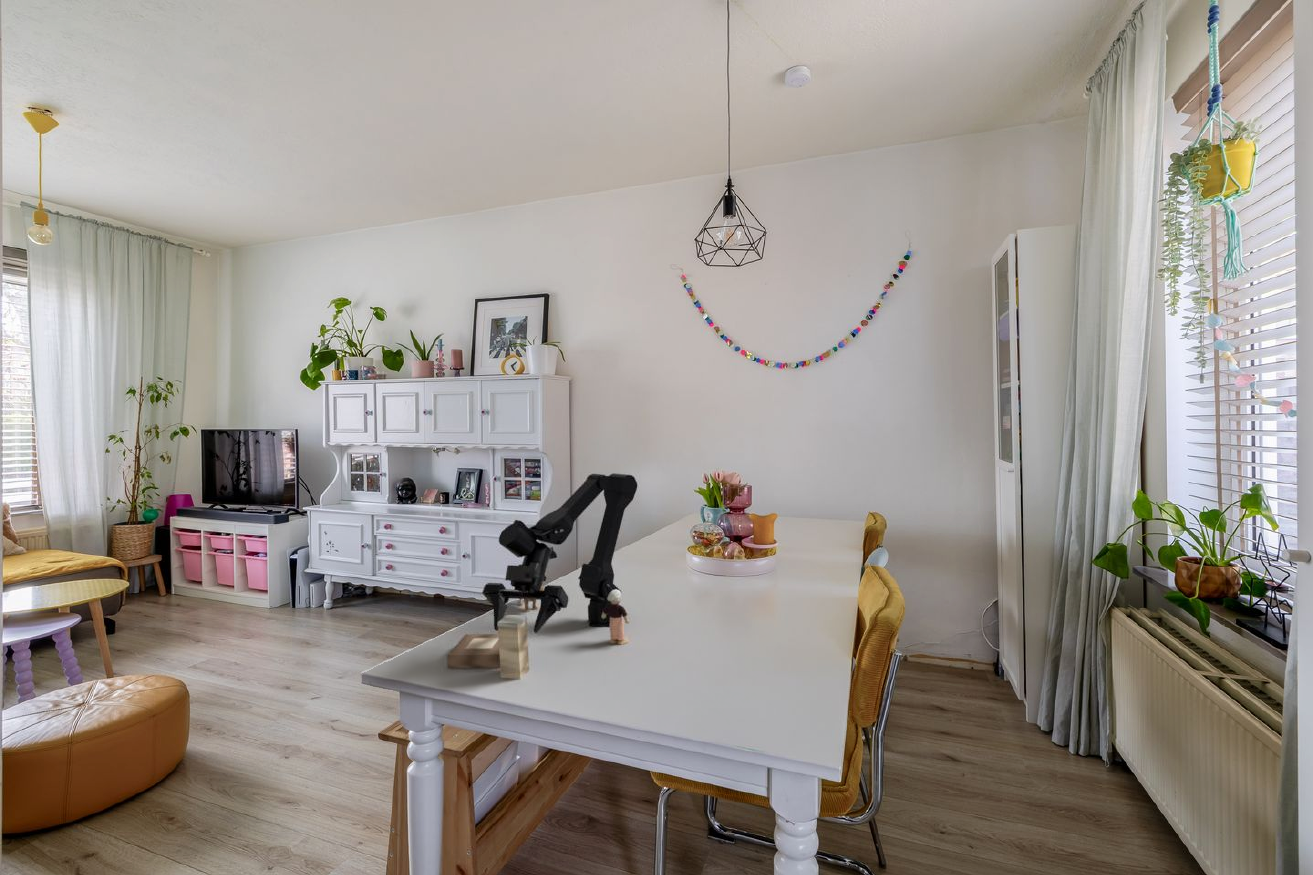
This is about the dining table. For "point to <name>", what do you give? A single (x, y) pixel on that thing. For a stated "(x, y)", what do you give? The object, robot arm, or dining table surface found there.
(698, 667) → the dining table surface
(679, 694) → the dining table surface
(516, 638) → the oak column
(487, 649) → the plinth
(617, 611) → the grandmother figurine
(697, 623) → the dining table surface
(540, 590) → the lion figurine
